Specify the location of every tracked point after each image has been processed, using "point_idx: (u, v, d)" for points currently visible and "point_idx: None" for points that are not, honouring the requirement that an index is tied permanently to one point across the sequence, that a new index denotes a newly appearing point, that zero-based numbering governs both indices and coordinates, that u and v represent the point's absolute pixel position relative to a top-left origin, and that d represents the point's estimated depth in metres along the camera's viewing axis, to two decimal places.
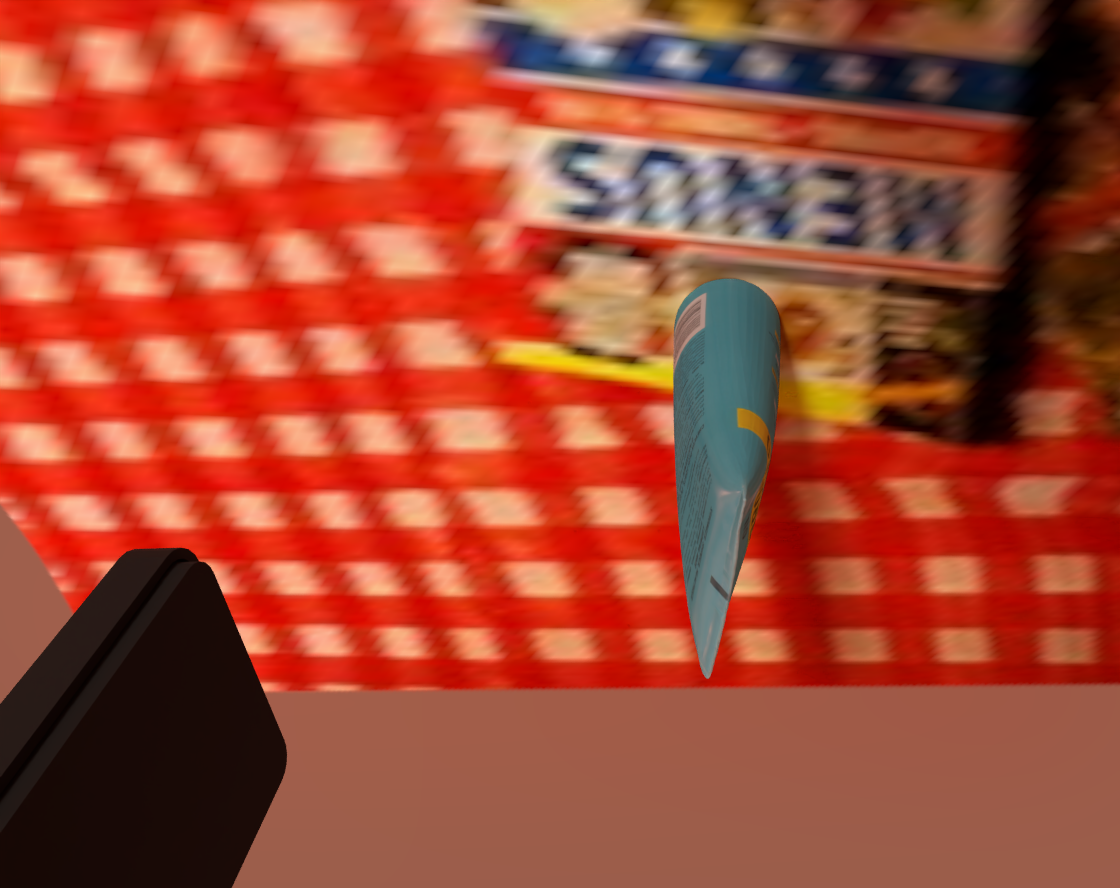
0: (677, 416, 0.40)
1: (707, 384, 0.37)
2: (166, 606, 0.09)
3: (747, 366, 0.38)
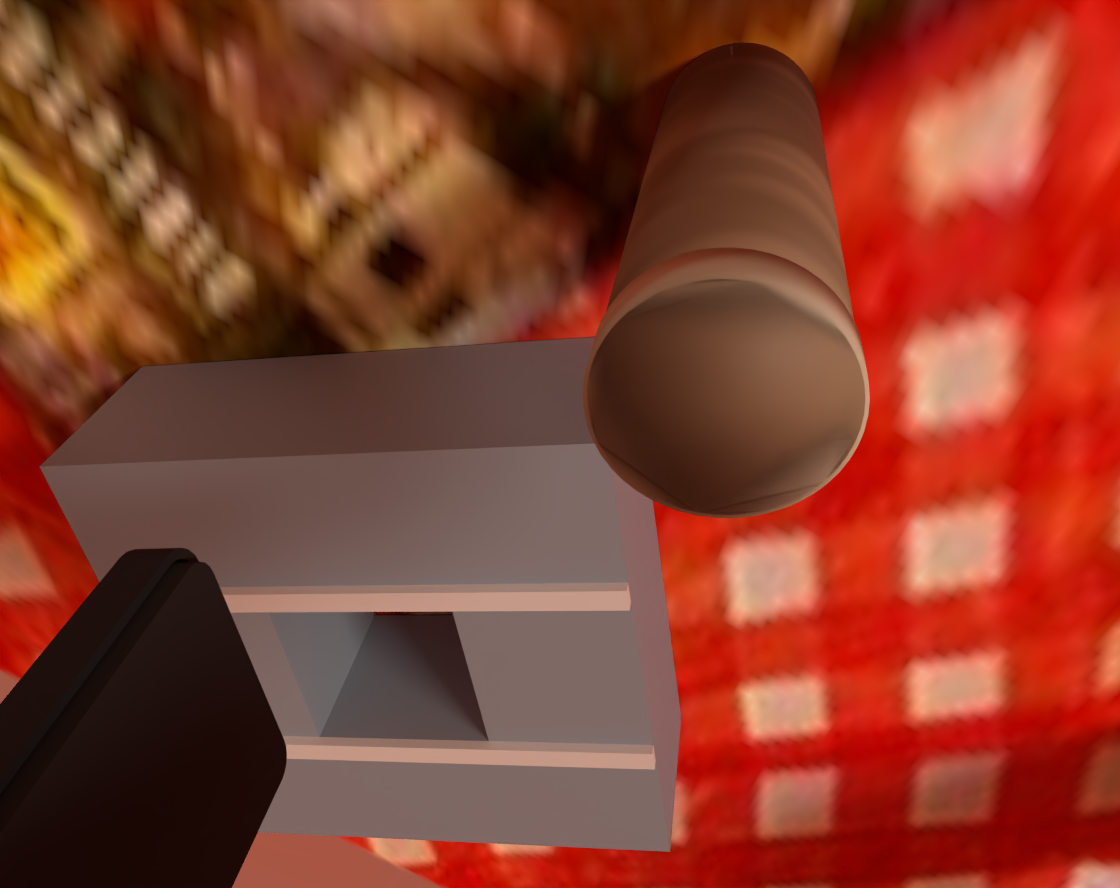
0: None
1: None
2: (166, 606, 0.09)
3: None
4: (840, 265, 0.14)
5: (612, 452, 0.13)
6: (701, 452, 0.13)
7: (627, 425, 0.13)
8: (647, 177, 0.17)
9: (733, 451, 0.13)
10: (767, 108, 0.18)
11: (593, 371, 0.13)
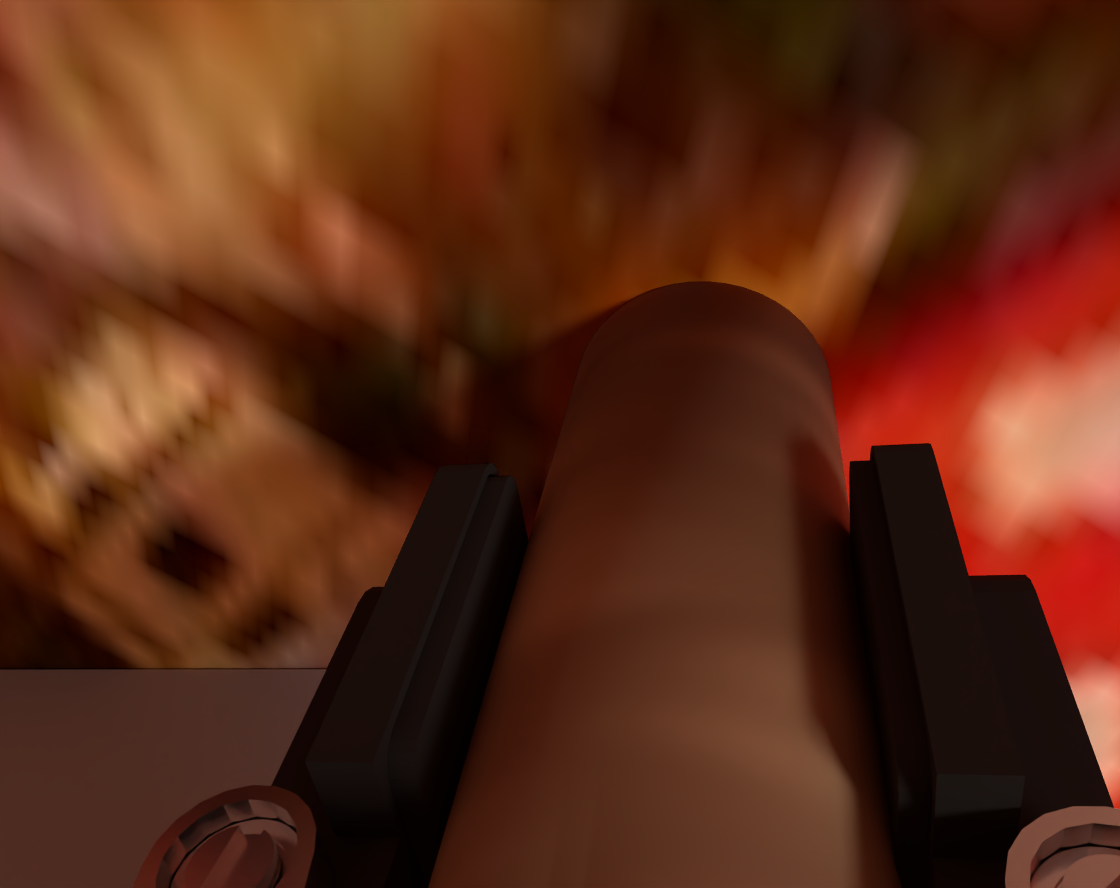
0: None
1: None
2: (497, 514, 0.10)
3: None
4: None
5: None
6: None
7: None
8: (497, 673, 0.08)
9: None
10: (743, 510, 0.09)
11: None
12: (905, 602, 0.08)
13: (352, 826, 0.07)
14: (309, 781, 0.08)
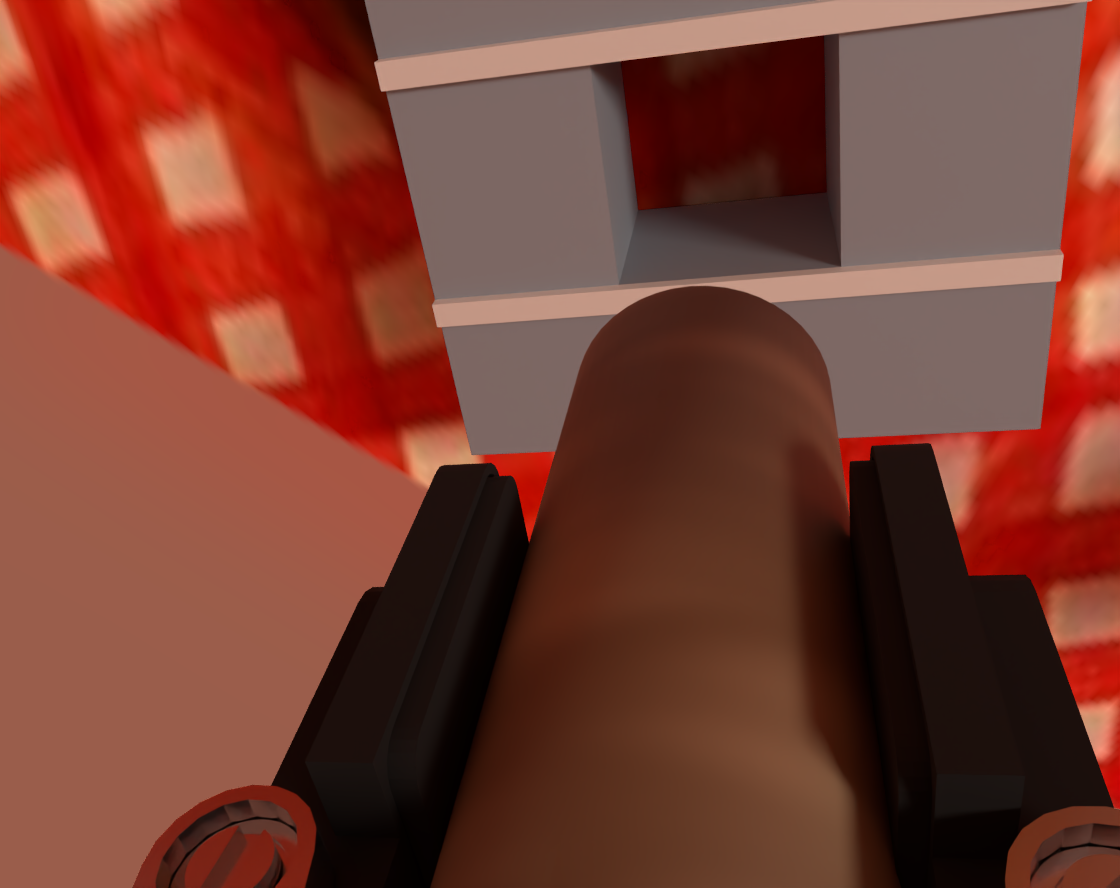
0: None
1: None
2: (496, 513, 0.10)
3: None
4: None
5: None
6: None
7: None
8: (497, 679, 0.08)
9: None
10: (744, 516, 0.09)
11: None
12: (905, 602, 0.08)
13: (351, 826, 0.07)
14: (308, 781, 0.08)
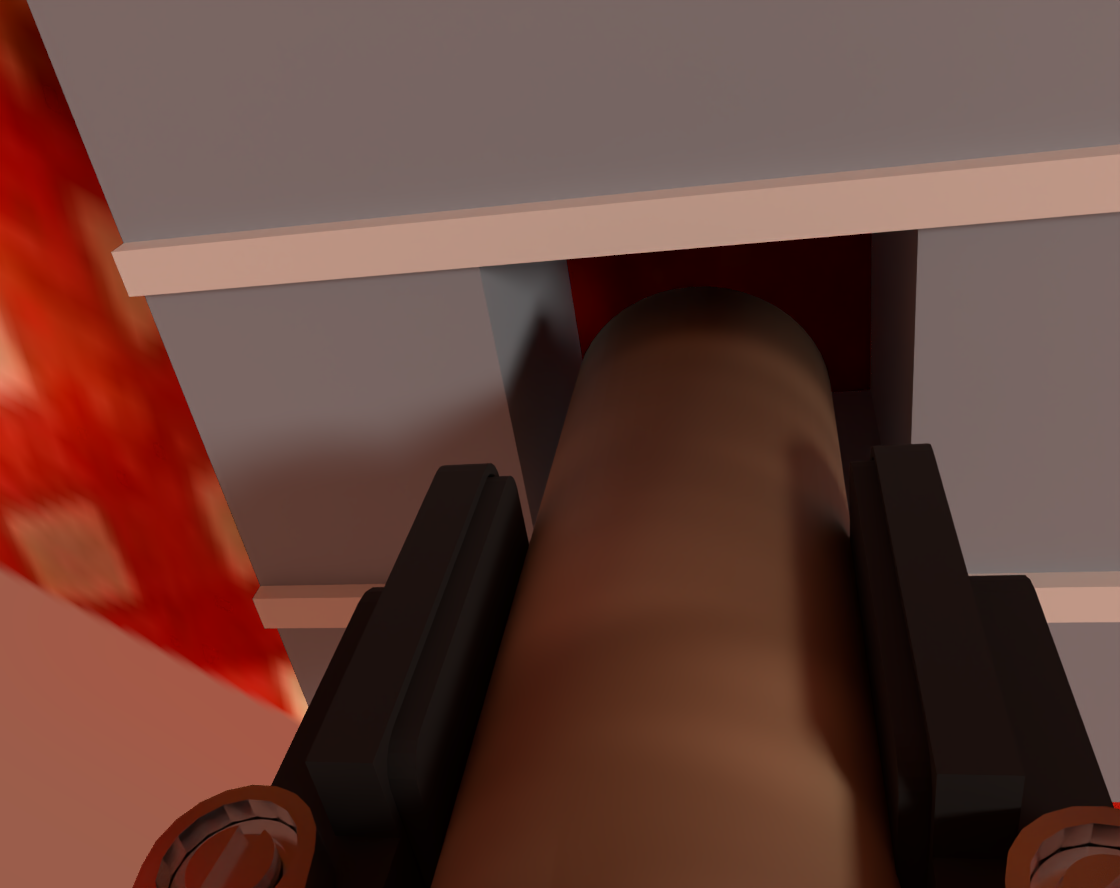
0: None
1: None
2: (496, 513, 0.10)
3: None
4: None
5: None
6: None
7: None
8: (496, 681, 0.08)
9: None
10: (743, 517, 0.09)
11: None
12: (905, 602, 0.08)
13: (351, 826, 0.07)
14: (308, 781, 0.08)
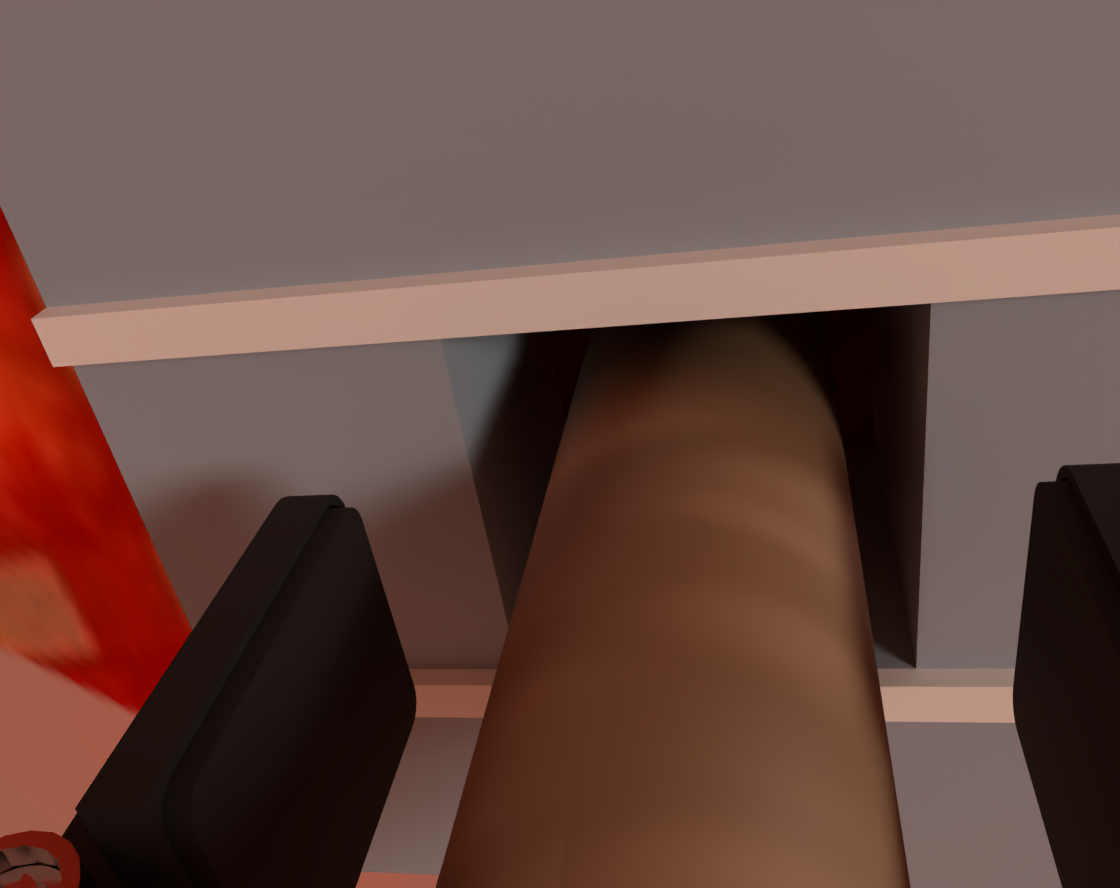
0: None
1: None
2: (329, 547, 0.10)
3: None
4: (888, 803, 0.07)
5: None
6: None
7: None
8: (551, 497, 0.10)
9: None
10: (748, 372, 0.11)
11: None
12: None
13: (131, 871, 0.07)
14: None
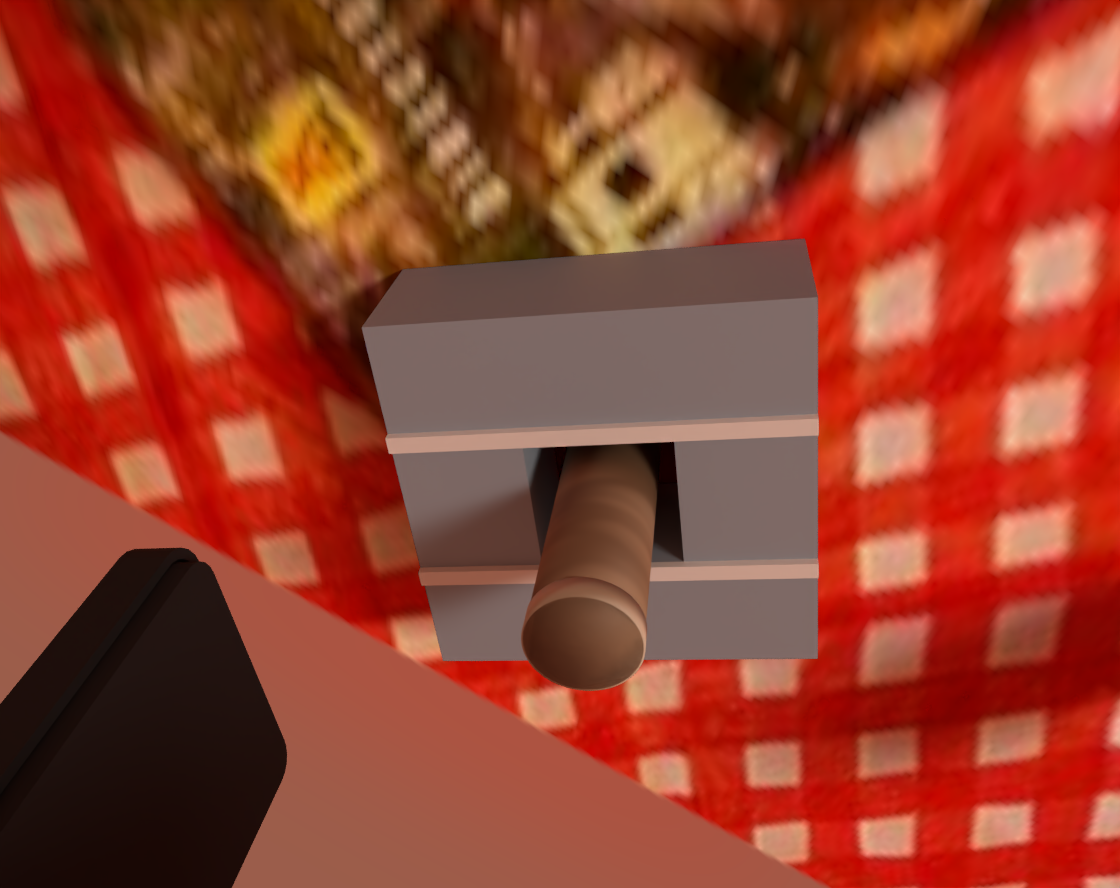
0: None
1: None
2: (167, 606, 0.09)
3: None
4: (642, 569, 0.30)
5: (534, 661, 0.29)
6: (574, 663, 0.29)
7: (541, 650, 0.29)
8: (557, 498, 0.33)
9: (588, 663, 0.29)
10: (621, 459, 0.34)
11: (525, 628, 0.28)
12: None
13: None
14: None
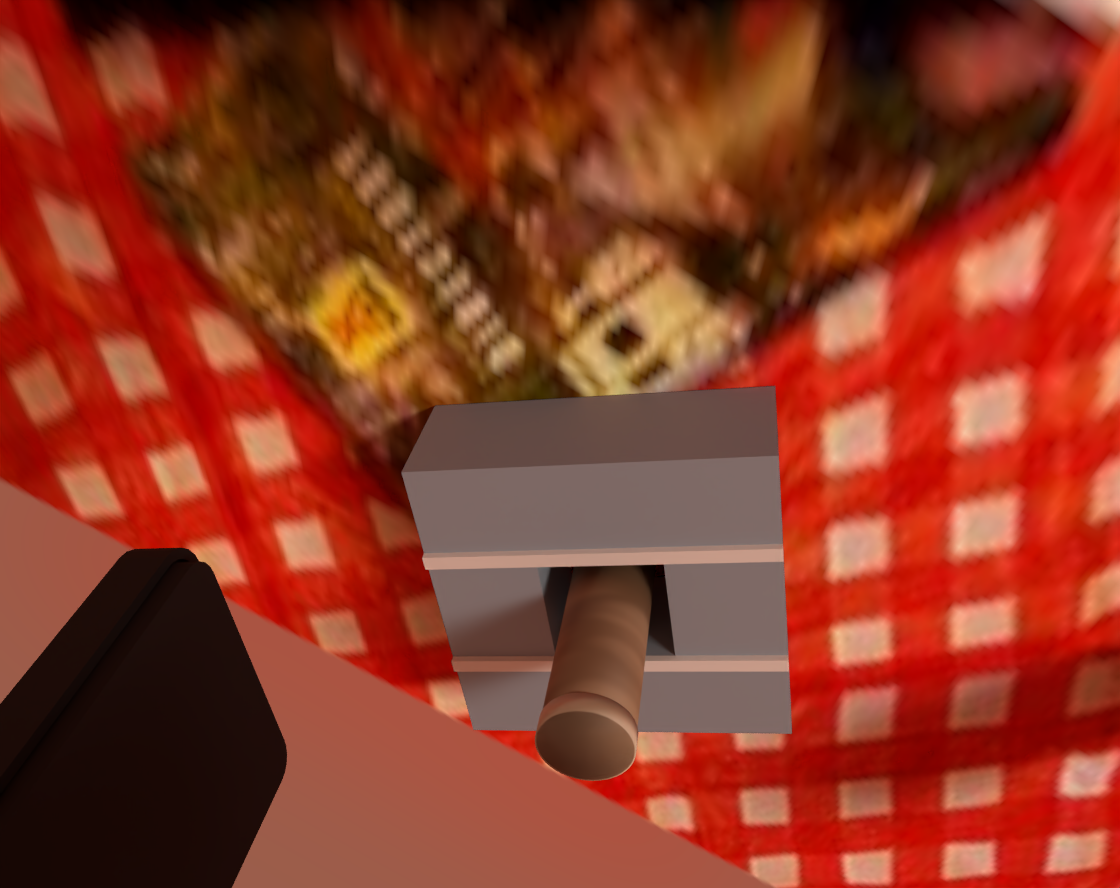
0: None
1: None
2: (166, 606, 0.09)
3: None
4: (635, 679, 0.36)
5: (546, 758, 0.35)
6: (578, 759, 0.35)
7: (551, 750, 0.35)
8: (566, 609, 0.39)
9: (590, 760, 0.35)
10: (620, 574, 0.40)
11: (538, 733, 0.35)
12: None
13: None
14: None
